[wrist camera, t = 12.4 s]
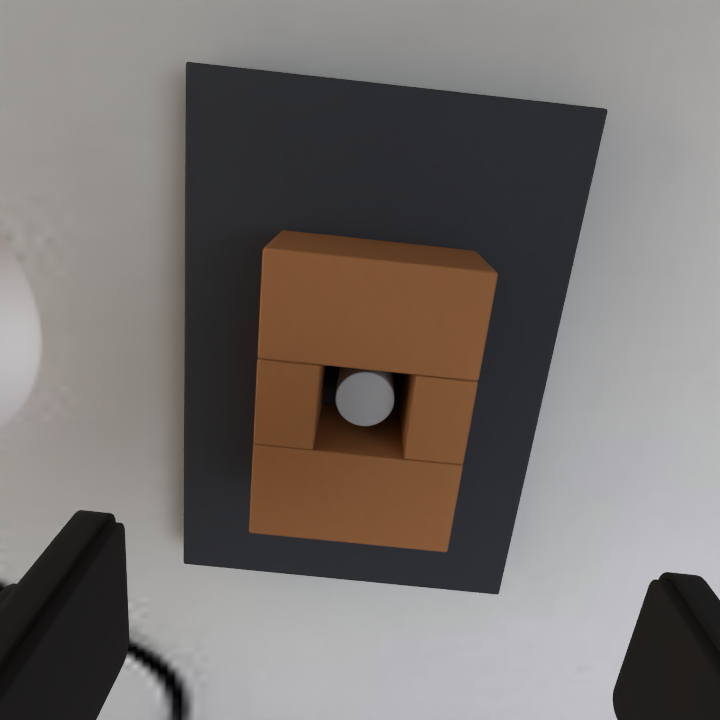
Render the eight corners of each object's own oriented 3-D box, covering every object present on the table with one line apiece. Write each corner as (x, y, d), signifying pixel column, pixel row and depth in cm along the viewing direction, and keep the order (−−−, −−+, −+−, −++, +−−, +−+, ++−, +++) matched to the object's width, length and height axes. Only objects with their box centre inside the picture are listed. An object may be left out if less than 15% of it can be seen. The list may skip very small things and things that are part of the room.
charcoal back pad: (201, 69, 21) (153, 46, 17) (588, 112, 22) (648, 102, 17) (195, 536, 28) (160, 614, 23) (490, 565, 28) (513, 648, 24)
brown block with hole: (281, 229, 21) (262, 247, 18) (476, 250, 21) (499, 272, 18) (267, 474, 25) (248, 533, 21) (436, 491, 25) (447, 553, 21)
